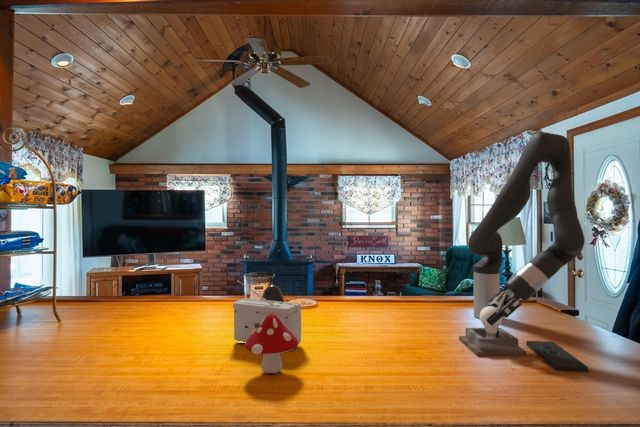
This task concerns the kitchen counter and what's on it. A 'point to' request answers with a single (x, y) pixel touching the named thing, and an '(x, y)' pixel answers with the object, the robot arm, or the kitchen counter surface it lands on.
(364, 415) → the kitchen counter surface
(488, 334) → the lightbulb
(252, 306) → the stereo radio cassette player
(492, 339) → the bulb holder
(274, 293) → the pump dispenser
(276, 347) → the decorative mushroom
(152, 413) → the kitchen counter surface
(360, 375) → the kitchen counter surface
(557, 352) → the smart home device
